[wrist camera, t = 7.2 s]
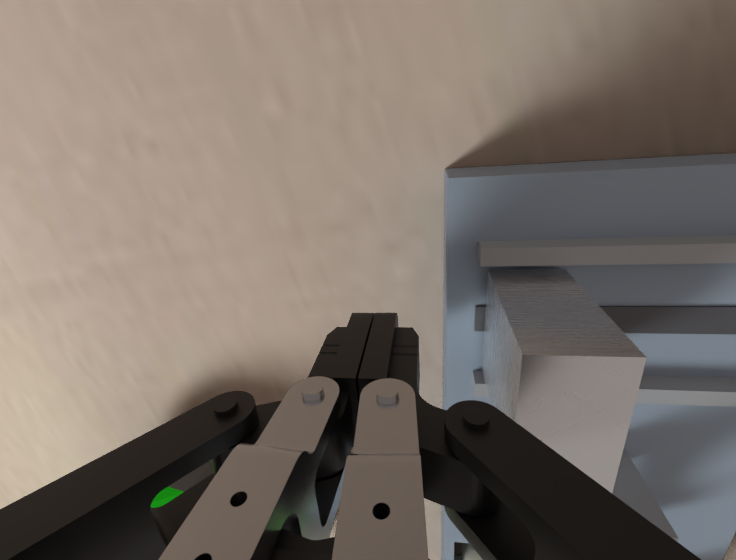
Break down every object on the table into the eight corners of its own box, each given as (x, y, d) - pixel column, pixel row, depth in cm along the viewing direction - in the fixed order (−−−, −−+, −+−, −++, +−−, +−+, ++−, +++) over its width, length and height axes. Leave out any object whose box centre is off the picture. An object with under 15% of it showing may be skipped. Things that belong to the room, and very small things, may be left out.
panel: (441, 588, 24) (445, 725, 19) (445, 168, 14) (457, 199, 9) (647, 612, 22) (720, 772, 17) (819, 148, 12) (1133, 171, 7)
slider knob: (481, 369, 14) (508, 487, 10) (487, 269, 13) (522, 354, 8) (550, 370, 14) (611, 495, 9) (564, 268, 12) (646, 357, 8)
